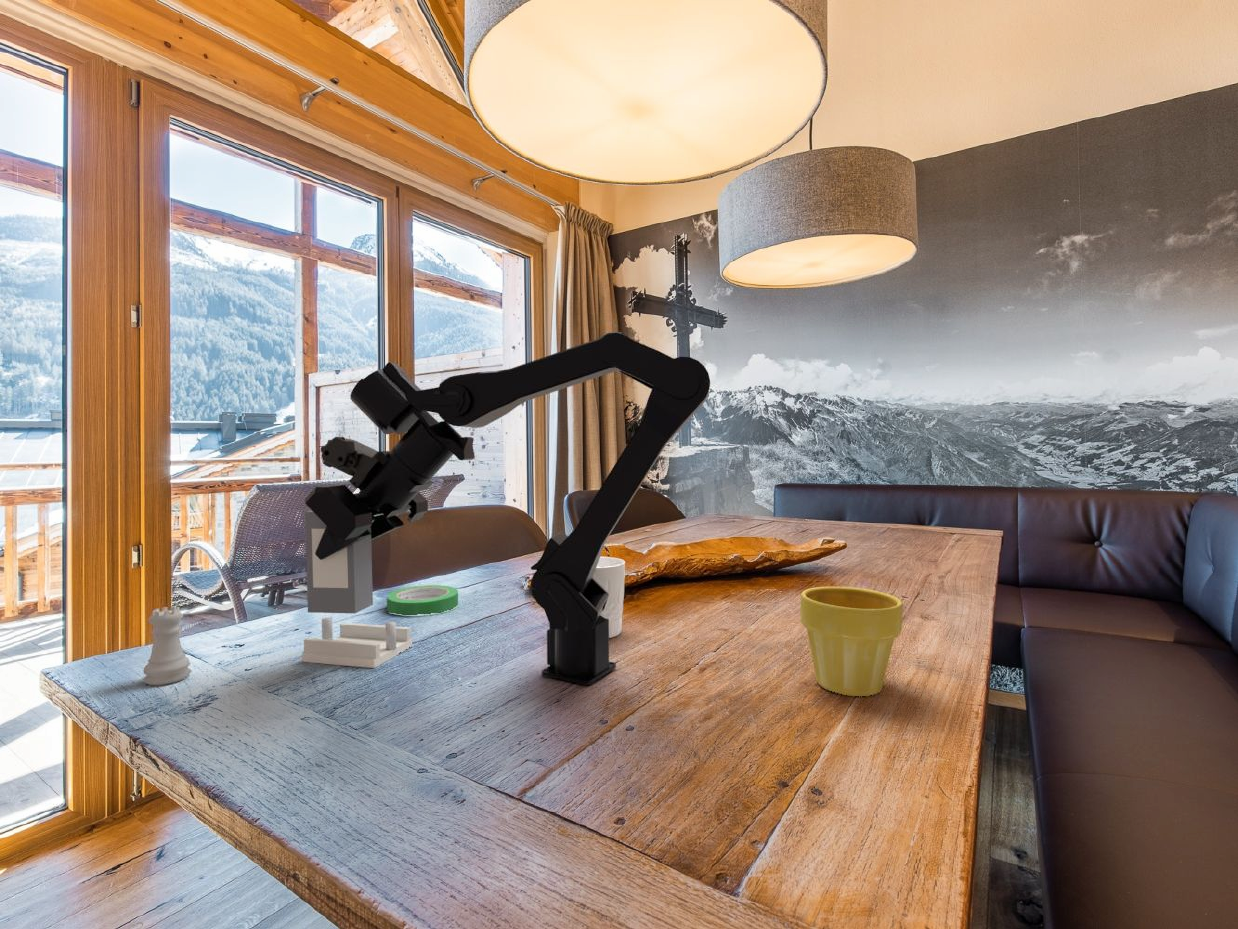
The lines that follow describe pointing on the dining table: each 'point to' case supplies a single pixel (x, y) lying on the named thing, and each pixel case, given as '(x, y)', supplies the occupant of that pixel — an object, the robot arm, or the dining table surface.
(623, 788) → the dining table surface
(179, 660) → the rook chess piece
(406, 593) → the tape roll
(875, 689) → the plant pot
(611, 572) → the white cup
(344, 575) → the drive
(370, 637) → the tray
